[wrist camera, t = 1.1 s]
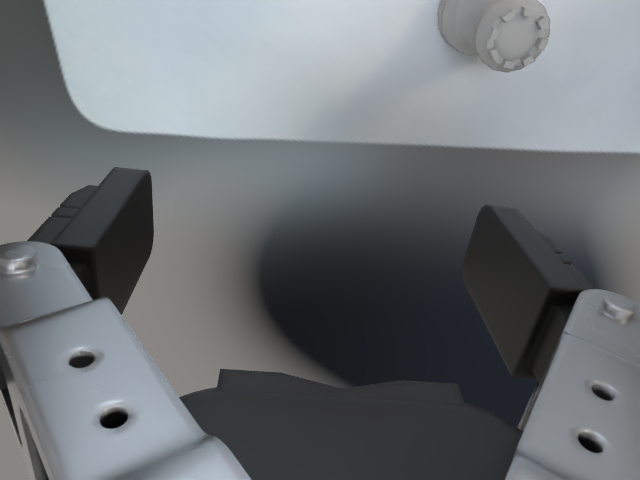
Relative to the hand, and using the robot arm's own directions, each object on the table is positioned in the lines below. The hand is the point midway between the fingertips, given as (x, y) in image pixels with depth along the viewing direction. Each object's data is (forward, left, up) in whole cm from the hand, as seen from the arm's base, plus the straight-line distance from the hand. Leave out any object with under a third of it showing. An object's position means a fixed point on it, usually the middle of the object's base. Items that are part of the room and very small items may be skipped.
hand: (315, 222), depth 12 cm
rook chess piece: (-6, +6, -21) cm, 23 cm away
